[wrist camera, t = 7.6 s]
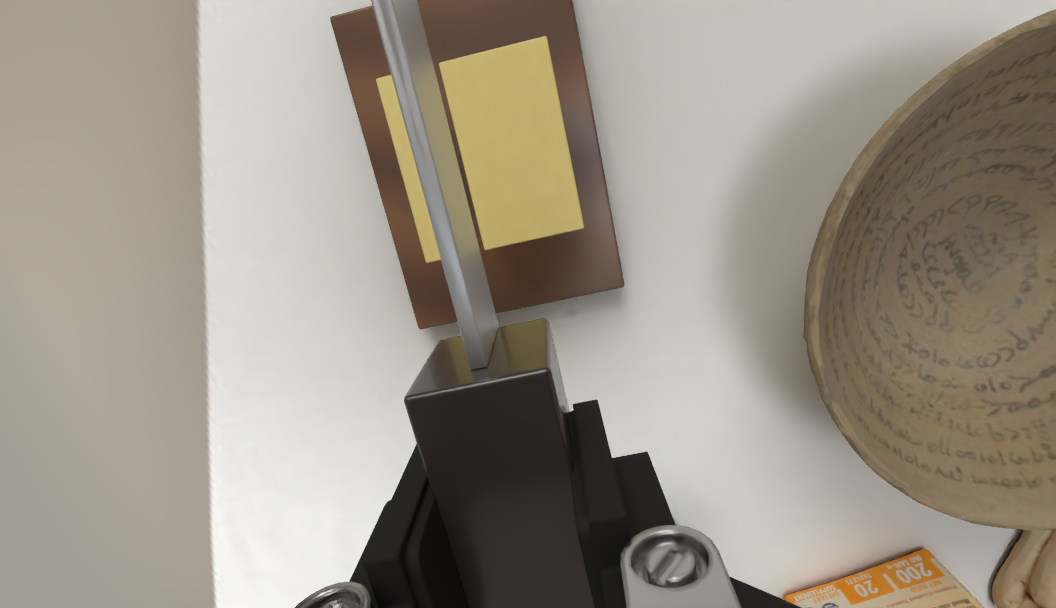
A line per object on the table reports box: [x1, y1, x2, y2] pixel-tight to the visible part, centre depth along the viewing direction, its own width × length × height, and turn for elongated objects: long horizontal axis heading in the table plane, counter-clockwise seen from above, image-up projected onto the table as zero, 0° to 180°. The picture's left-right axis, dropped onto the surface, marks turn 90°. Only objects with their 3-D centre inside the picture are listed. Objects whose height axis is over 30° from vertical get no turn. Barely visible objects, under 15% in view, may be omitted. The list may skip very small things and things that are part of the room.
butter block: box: [439, 36, 584, 250], centre depth 21 cm, size 7×4×4 cm, turn 13°
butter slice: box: [376, 75, 441, 263], centre depth 22 cm, size 7×1×4 cm, turn 13°
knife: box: [371, 0, 595, 608], centre depth 9 cm, size 15×2×3 cm, turn 13°
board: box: [330, 0, 624, 329], centre depth 24 cm, size 14×10×1 cm
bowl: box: [803, 9, 1056, 530], centre depth 21 cm, size 18×18×8 cm
